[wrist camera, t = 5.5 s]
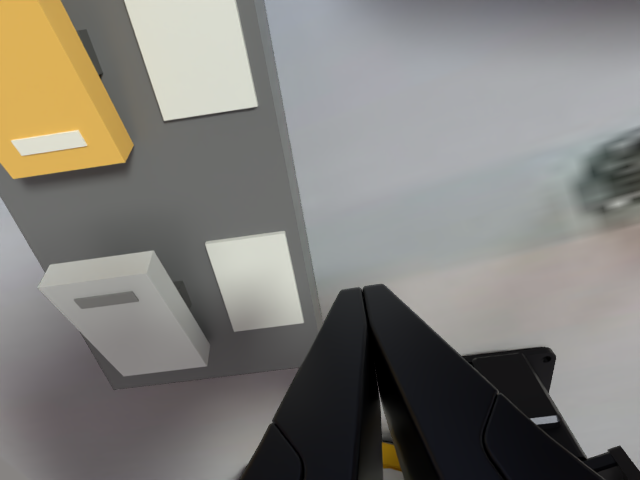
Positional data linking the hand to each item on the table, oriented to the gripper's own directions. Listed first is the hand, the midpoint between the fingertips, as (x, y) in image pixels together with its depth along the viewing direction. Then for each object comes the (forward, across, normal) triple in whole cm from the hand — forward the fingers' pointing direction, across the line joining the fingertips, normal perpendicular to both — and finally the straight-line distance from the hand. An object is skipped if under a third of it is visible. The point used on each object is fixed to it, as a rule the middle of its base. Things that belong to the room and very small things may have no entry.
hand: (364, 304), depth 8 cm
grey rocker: (+6, +8, +4) cm, 11 cm away
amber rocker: (+6, +8, -5) cm, 11 cm away
